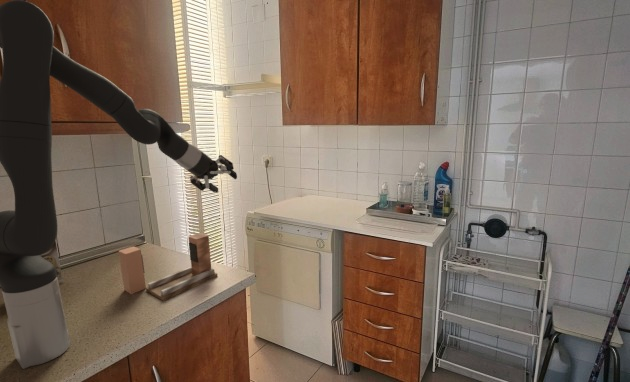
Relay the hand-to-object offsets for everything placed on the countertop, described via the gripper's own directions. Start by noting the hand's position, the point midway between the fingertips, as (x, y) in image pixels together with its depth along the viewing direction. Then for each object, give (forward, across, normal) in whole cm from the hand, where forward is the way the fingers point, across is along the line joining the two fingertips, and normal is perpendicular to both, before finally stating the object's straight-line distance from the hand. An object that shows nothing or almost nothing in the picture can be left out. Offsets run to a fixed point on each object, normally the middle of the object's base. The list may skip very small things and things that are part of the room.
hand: (226, 183), depth 116 cm
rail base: (+3, +25, +25) cm, 35 cm away
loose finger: (-6, +36, +24) cm, 44 cm away
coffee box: (-19, +62, +14) cm, 66 cm away
